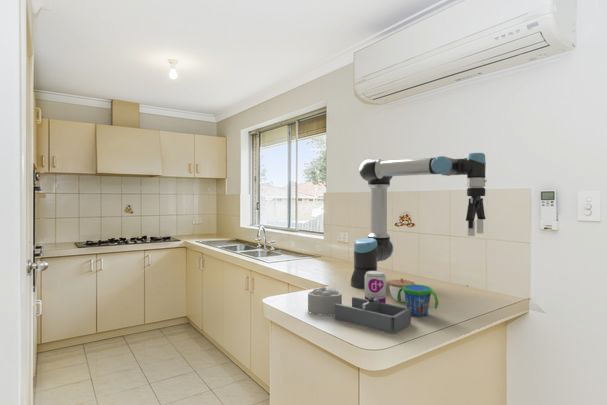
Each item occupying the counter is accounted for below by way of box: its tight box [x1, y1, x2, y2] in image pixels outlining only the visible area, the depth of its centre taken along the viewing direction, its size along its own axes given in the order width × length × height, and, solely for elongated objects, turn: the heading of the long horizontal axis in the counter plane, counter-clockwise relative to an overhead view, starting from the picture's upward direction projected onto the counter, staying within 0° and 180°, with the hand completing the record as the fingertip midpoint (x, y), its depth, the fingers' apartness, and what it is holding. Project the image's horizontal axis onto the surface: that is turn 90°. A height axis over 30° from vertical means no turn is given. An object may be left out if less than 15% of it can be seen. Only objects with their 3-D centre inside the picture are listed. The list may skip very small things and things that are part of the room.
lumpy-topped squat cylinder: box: [307, 286, 343, 316], centre depth 147 cm, size 10×13×9 cm
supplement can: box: [364, 270, 387, 304], centre depth 148 cm, size 8×8×15 cm
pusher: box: [362, 297, 379, 313], centre depth 134 cm, size 2×10×7 cm, turn 140°
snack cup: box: [397, 284, 439, 317], centre depth 143 cm, size 16×10×10 cm
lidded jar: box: [389, 278, 416, 303], centre depth 162 cm, size 11×11×9 cm
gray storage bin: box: [334, 296, 412, 335], centre depth 134 cm, size 24×13×6 cm, turn 50°
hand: (475, 234), depth 166 cm, fingers open, 13 cm apart
